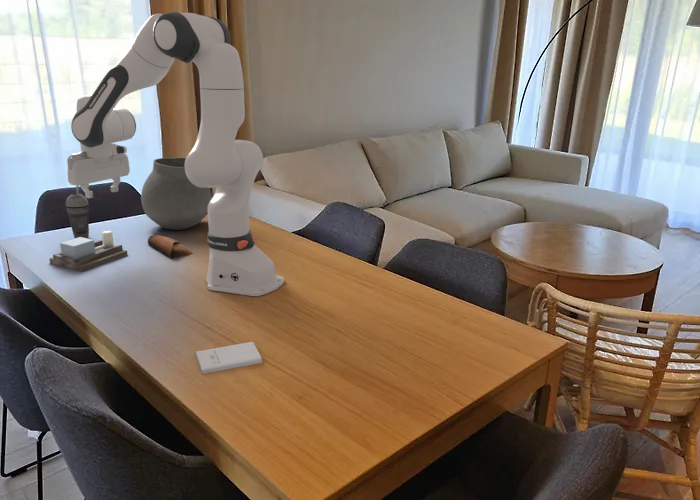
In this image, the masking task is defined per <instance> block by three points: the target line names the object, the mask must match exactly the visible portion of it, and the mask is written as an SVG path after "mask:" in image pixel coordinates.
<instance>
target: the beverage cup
mask: <svg viewBox="0 0 700 500" xmlns="http://www.w3.org/2000/svg"><path fill="white" fill-rule="evenodd" d="M89 206H90V204H89V201H88V198H86V197H85V196H84V195H83V194H82V193H79V186H76V193H72V194H70V195H69V196H68V197H67V198H66V201H65V210H66V212H67V214H68V217H69V222H70V226H71V227H70V228H71V229H72V234H73V237H74V238H73V239H75V238H78V237H83V238H87V239H90V227H89V226H90V225H89Z"/></svg>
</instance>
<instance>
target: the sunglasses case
mask: <svg viewBox="0 0 700 500" xmlns="http://www.w3.org/2000/svg"><path fill="white" fill-rule="evenodd" d="M147 244H148V245H150V246H152V247H153V248H155V249H157V250H159V251H161V252H162V253H164V254H165V255H166V256H169V257H170V258H171V259H173V258H174V259H177V258H182V257H186V256H190V255H194V252H193V251H192V250H191V249H189V248H188V247H186V246H185V245H183V244H181V243H180V241H179V240H176V239H174V238H171V237H168V236H165V235H159V234H151V235H150V236H148V239H147Z"/></svg>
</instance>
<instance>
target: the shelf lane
mask: <svg viewBox="0 0 700 500" xmlns="http://www.w3.org/2000/svg"><path fill="white" fill-rule="evenodd" d="M102 245H103V239H102V240H101V239H99V240H96V241H94V246H95V247H99V246H102ZM123 256H124V257H126V256H128V250H126V249H123V244H117V245H114V247H111V248H108V249H105V248H103V249H100V250H97V251H95V253H93V254H90V255H88V256H85V257H82V258H79V259H73V258H69V257H65V256H62V252H58V253H55V254H52V257H50V258H48V259H49V264H51V265H56V266H60V267H63V268H65V269H69V270H75V271H78V272H81V273H82V272H84V271H85V272H86V271H88V270H90V269H93V268H96V267H98V266H102V265H104V264H107V263H110V262H112V261H115V260H117V259H121V258H123Z"/></svg>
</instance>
